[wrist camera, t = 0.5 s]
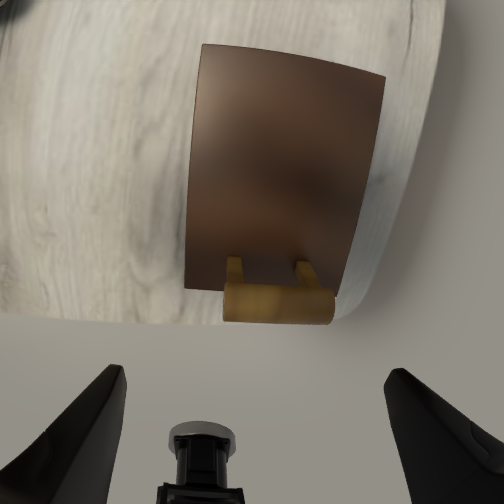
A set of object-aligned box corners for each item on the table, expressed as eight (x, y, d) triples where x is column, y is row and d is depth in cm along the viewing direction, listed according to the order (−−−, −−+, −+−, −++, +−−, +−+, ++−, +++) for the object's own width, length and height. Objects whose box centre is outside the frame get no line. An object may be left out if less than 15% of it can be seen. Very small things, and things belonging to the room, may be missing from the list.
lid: (333, 290, 18) (361, 347, 14) (185, 281, 17) (174, 343, 13) (379, 77, 13) (437, 76, 9) (203, 46, 12) (192, 21, 8)
